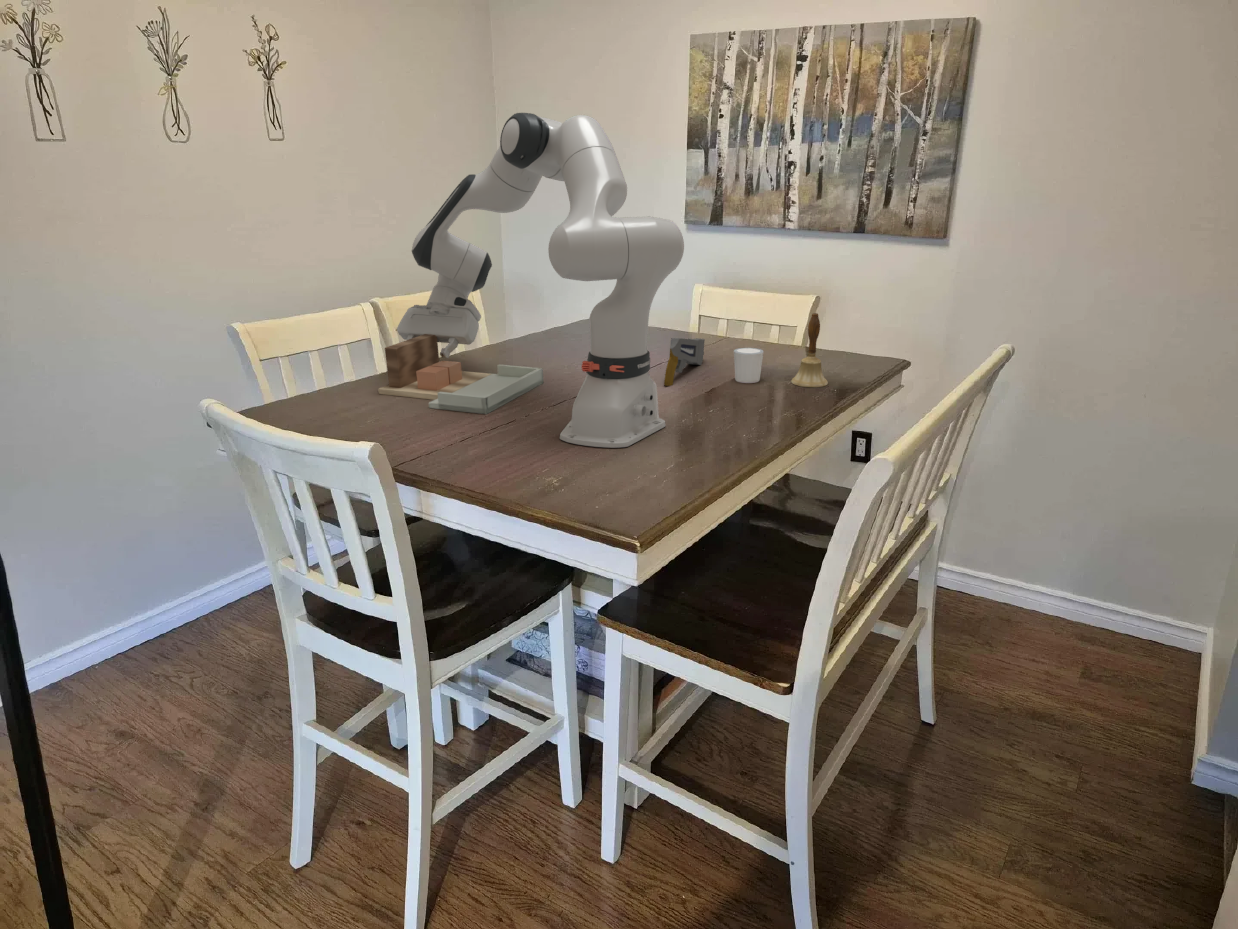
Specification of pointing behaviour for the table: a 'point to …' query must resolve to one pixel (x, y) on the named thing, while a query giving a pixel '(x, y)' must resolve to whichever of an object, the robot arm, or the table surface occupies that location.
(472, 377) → the board
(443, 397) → the tray
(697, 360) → the gun
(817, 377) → the hand bell
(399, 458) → the table surface
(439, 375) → the terracotta block
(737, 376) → the white tapered cylinder
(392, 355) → the bar
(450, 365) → the terracotta square block
